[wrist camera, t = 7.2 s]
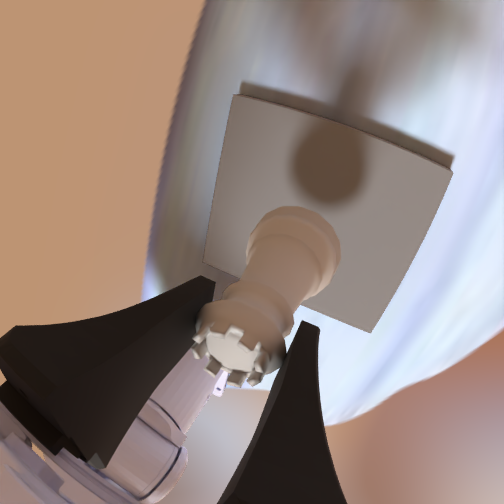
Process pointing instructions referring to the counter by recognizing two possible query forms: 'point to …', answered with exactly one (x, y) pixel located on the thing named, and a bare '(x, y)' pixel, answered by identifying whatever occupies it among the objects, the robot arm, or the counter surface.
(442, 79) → the counter surface
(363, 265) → the mat
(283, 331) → the rook chess piece
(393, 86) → the counter surface
